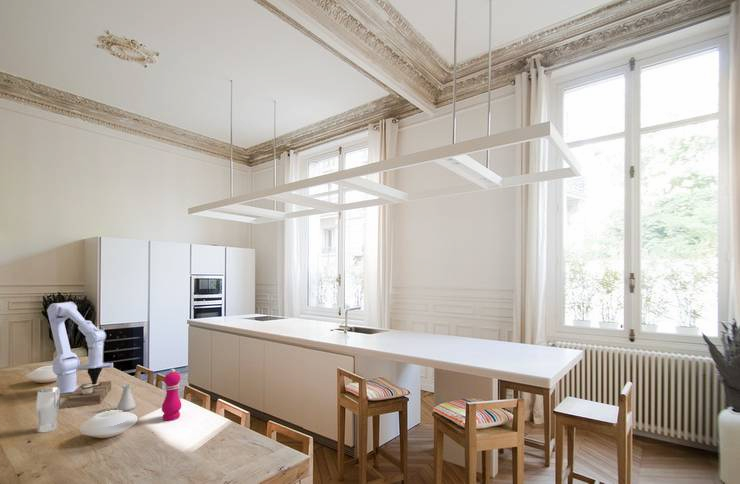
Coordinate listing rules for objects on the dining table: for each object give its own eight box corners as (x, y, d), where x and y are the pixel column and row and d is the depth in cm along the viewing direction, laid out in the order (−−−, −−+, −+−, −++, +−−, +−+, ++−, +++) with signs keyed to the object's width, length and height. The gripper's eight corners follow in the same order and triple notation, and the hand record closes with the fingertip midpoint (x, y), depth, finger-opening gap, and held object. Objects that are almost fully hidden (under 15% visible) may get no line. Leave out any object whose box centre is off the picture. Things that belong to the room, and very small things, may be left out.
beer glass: (37, 435, 141) (39, 394, 142) (32, 430, 145) (34, 390, 146) (61, 428, 146) (62, 389, 147) (55, 423, 151) (57, 385, 151)
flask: (139, 405, 170) (140, 383, 170) (127, 412, 162) (128, 388, 163) (124, 405, 170) (125, 382, 171) (112, 411, 163) (113, 388, 164)
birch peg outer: (82, 393, 175) (83, 384, 175) (94, 391, 177) (94, 383, 177) (80, 396, 171) (80, 387, 171) (91, 394, 173) (92, 386, 173)
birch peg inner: (89, 390, 186) (90, 383, 186) (100, 389, 188) (100, 381, 188) (87, 393, 182) (87, 385, 182) (98, 392, 184) (98, 384, 184)
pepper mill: (172, 422, 152) (174, 371, 153) (157, 420, 154) (158, 370, 155) (185, 415, 159) (186, 366, 160) (170, 413, 161) (171, 366, 162)
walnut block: (82, 392, 187) (82, 384, 187) (111, 389, 192) (111, 381, 192) (67, 408, 167) (67, 398, 167) (99, 404, 172) (100, 395, 172)
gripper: (74, 359, 179) (73, 388, 178) (111, 356, 185) (110, 384, 184) (79, 355, 186) (78, 384, 185) (114, 352, 191) (113, 380, 191)
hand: (94, 383), depth 185 cm, fingers closed, pressing on birch peg inner
